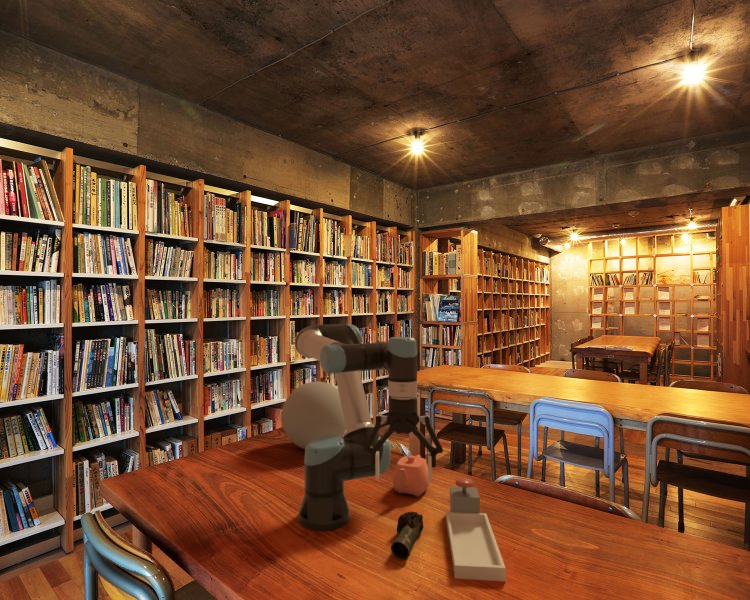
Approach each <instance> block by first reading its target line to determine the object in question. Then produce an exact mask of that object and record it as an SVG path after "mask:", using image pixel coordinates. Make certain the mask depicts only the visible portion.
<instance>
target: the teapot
mask: <svg viewBox="0 0 750 600" xmlns="http://www.w3.org/2000/svg"><path fill="white" fill-rule="evenodd" d="M429 484H430V482H429V479H428V462H427V460H426V459H425V458H423V457H422V456H421V455H420V454H416V455H405V456H403V457H401V458H400V459H399V460H398V461H397V464H396V467H395V468H394V473H393V478H392V485H393V486H392V487H393V488H394V490H395V491H396V492H397V493H398V494H408V495H413V496H414V497H420V496H421V495H422V494H423V493H425V491H426V490H427V488H428V486H429Z"/></svg>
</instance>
